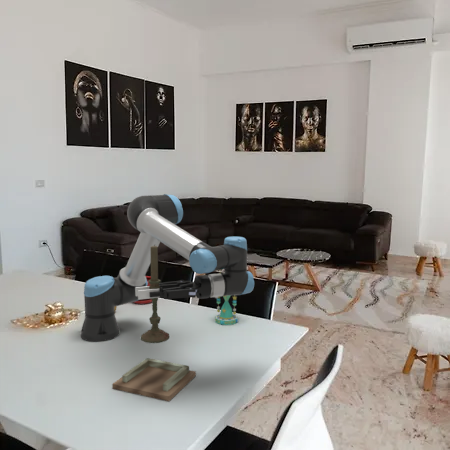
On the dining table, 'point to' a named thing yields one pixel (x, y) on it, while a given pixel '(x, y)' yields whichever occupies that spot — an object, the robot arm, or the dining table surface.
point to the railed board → (155, 379)
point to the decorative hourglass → (226, 312)
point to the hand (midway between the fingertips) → (137, 293)
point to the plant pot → (144, 301)
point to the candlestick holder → (154, 304)
